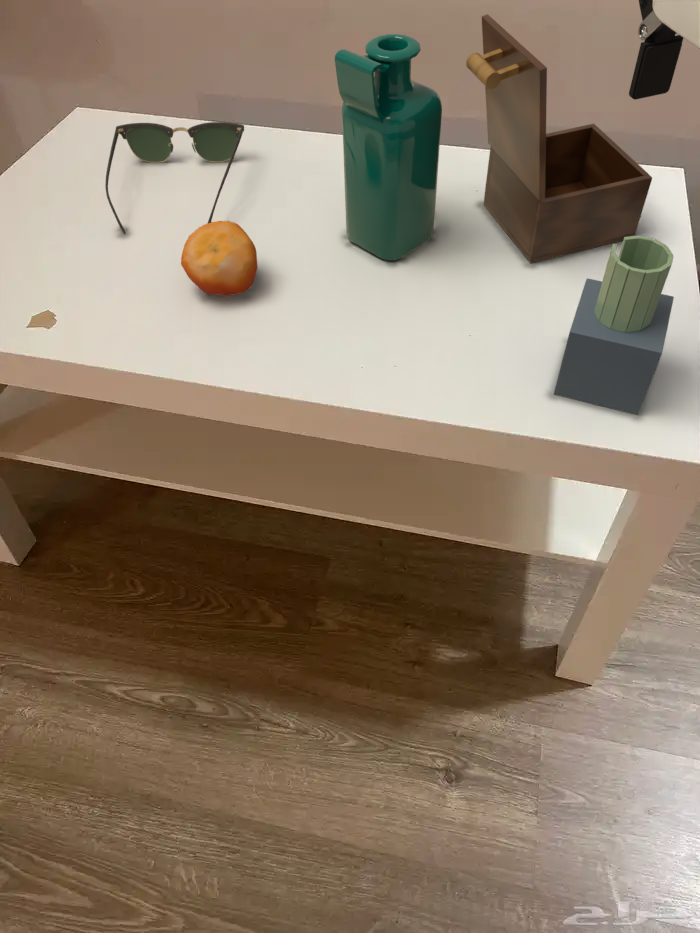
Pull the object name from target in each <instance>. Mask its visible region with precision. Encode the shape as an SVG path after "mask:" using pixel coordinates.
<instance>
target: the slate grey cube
mask: <svg viewBox="0 0 700 933" xmlns="http://www.w3.org/2000/svg"><path fill="white" fill-rule="evenodd" d="M602 281H603V280H597V279H594V278H593V279H592V278H586V279H585V282H584V284H583V288H582V292H581V295H580V298H579V301H578V304H577V307H576V310H575V314H574V316H573V320H572V323H571V327H570V328H569V329H570V330H569V333H568V337H567V341H566V344H565V348H564V353H563V355H562V360H561V364H560V368H559V371H558V375H557V380H556V384H555V387H554V390H553V395H556V396H560V397H563V398H567V399H571V400H576V401H580V402H584V403H588V404H592V405H596V406H600V407H604V408H608V409H612V410H616V411H620V412H624V413H628V414H632V415H636V416H638V415H639V413H640V411H641V409H642V406H643V403H644V401H645V398H646V396H647V394H648V391H649V388H650V385H651V383H652V380H653V379H654V375H655V372H656V371H657V368H658V365H659V362H660V360H661V357H662V355H663V351H664V346H665V342H666V337H667V332H668V328H669V322H670V319H671V314H672V308H673V305H674V304H673V303H674V299H675V296H673V295H669V294H664V293H661V296H660V298H659V301H658V304H657V307H656V309H655V312H654V315H653V318H652V321H651V323H650V325H648V326H647V327H645V328H644V329H643V330H640V331H636V332H628V333H627V332H620V331H616V330H612V329H609V328H608V327H606V326H605V325H603V324H602V323H600V321H598V319H597V317H596V315H595V313H594V309H595V306H596V302H597V298H598V295H599V291H600V288H601V284H602Z"/></svg>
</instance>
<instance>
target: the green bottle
mask: <svg viewBox="0 0 700 933" xmlns="http://www.w3.org/2000/svg"><path fill="white" fill-rule="evenodd" d="M364 47H365V53H366V55H361V54H359V53H356V52H353V51H351V50H349V49H346V48H342V49H339V50H338V51H337V52H336V53H335V55H334V66H335V73H336V80H337V81H336V82H337V88H338V92H339V95H340V98H341V100H342V101H343V102H342V105H341V109H342V110H341V118H342V119H341V120H342V145H343V146H342V147H343V149H342V150H343V170H344V171H343V173H344V174H343V175H344V203H345V204H344V205H345V231H346V232H345V233H346V234H345V235H346V238H347V239H348V241H349V242H351V243H353V244H355V245H357V246H358V247H360V248H362V249H363V250H365V251H367V252H369V253H371V254H372V255H374V256H376V257H378V258H380V260H381V259H382V260H384V261H385V260H386V261H399V260H401V259H402V258H404V257H406V256H407V255H409V254H410V253H411V252H413V251H414V250H416V249H418V248H419V247H420V246H422V245H423V244H425V243H426V242H428V241H429V240H431V238H432V236H433V235H434V233H435V220H436V219H435V218H436V204H437V203H436V202H437V189H438V175H439V174H438V173H439V162H440V161H439V160H440V159H439V158H440V145H441V131H442V114H443V106H442V105H443V104H442V100H441V97H440V95H439V93H438V92H437V91H436V90H435V89H433V88H432V87H429V86H426V85H424V84H422V83H419V82H417V81H415V80H412V78H411V74H412V59H414V58H415V57H417V56H418V55H419V53H420V52H421V51H422V50H421V43H420V42H419V41H418V40H417V39H415V38H414V37H412V36H410V35H407V34H401V33H385V34H381V35H377V36H375V37H373V38H371V39H370V40H369V41H367V43H366V44H365V46H364Z"/></svg>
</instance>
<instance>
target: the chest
mask: <svg viewBox="0 0 700 933" xmlns="http://www.w3.org/2000/svg"><path fill="white" fill-rule="evenodd" d="M489 146H490V145H489ZM652 180H653V177H652V176H651V175H650V174H649V172H647V171H646V170H645V169H644V168H643V167H642V166H641V165H640V164H639V163H638V162H636V161H635V160H634V159H633V158H632V157H631V156H630V155H629V154H628V153H627V152H626V151H624V149H622V148H621V147H620V146H619V145H618V144H617V143H616V142H615V141H614V140H613V139H612V138H610V136H608V135H607V134H606V133H605V132H604V131H603V130H602V129H601V128H600V127H599V126H598V125H596V124H595V123H590V124H584V125H580V126H576V127H572V128H566V129H562V130H557V131H552V132H546V173H545V199H543V200H540V201H539V200H538V199H537V198H536V197H535V196H534V194H533V193H532V192H531V191H530V190H529V189H528V188H527V186H526V185H525V184H524V183H523V182H522V181H521V180H520V179H519V177H518V176H517V175H516V174H515V173H514V172H513V171H512V170H511V168H510V167H509V166H508V165H507V164H506V163H505V162H504V161H503V159H502V158H501V157H500V156H499V155H498V154H497V153H496V151H495V150H494V149H493V148H492V147H491V146H490V148H489V155H488V163H487V172H486V179H485V187H484V196H483V206H484V208H485V209H486V210H487V211H488V213H489V214H490V215H491V216H492V217H493V219H494V220H495V221H496V222H497V224H498V225H499V226H500V228H501V229H502V230H503V231H504V232H505V234H506V235H507V236H508V238H509V239H510V240H511V241H512V242H513V244H514V245H515V246H516V248H517V249H518V250H519V251H520V253H521V254H522V255H523V256H524V258H525V259H526V260H527V262H529V264H534V263H538V262H541V261H546V260H549V259H553V258H554V259H555V258H557V257H562V256H565V255H570V254H573V253H578V252H582V251H586V250H590V249H595V248H599V247H603V246H607V245H610V244H616V243H618V242H623V239H624V237H629V236H636V233H637V230H638V227H639V223H640V220H641V217H642V213H643V210H644V207H645V203H646V200H647V198H648V194H649V190H650V187H651V184H652Z"/></svg>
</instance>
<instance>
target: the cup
mask: <svg viewBox="0 0 700 933" xmlns="http://www.w3.org/2000/svg"><path fill="white" fill-rule="evenodd" d="M618 246H619V245H618V244H617V243H612V246H611V249H610V252H609V256H608V259H607V263H606V265H605V271H604V274H603V278H602V280H601V281H602V284H601V288H600V291H599V295H598V298H597V302H596V306H595V309H594V313H595V315H596V317H597V319H598V321H600V323H602V324H603V325H605V326H606V327H608V328H609V329H612V330H616V331H620V332H627V333H628V332H636V331H640V330H643V329H644V328H645V327H647V326H648V325H650V323H651V321H652V318H653V315H654V312H655V309H656V307H657V304H658V301H659V298H660V296H661V294H663V290H664V287H665V285H666V281H667V279H668V276H669V273H670V270H671V267H672V265H673V260H674V254H673V252H672V251H671V249H670V247H669V246H667V244H665V243H663V242H661V240H660V241H659V240H658V239H657V238H653V237H649V236H643V235H635V236H629V237H624V239H623V241H622V243H621V247H620V250H619V253H618V254H617V249H618Z"/></svg>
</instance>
